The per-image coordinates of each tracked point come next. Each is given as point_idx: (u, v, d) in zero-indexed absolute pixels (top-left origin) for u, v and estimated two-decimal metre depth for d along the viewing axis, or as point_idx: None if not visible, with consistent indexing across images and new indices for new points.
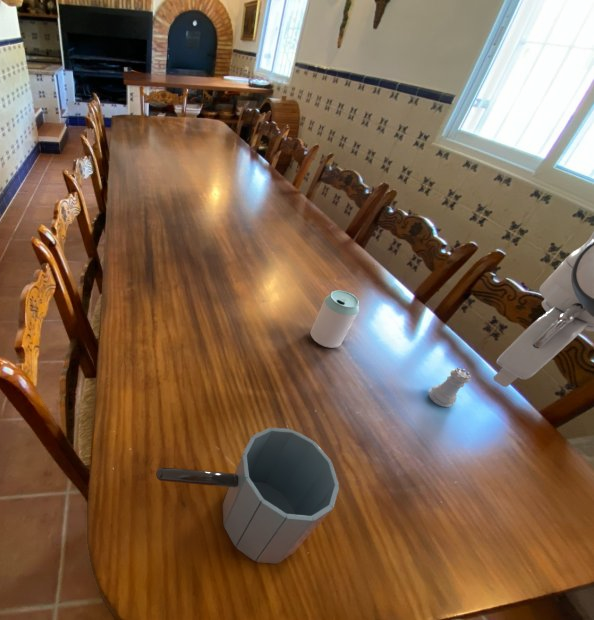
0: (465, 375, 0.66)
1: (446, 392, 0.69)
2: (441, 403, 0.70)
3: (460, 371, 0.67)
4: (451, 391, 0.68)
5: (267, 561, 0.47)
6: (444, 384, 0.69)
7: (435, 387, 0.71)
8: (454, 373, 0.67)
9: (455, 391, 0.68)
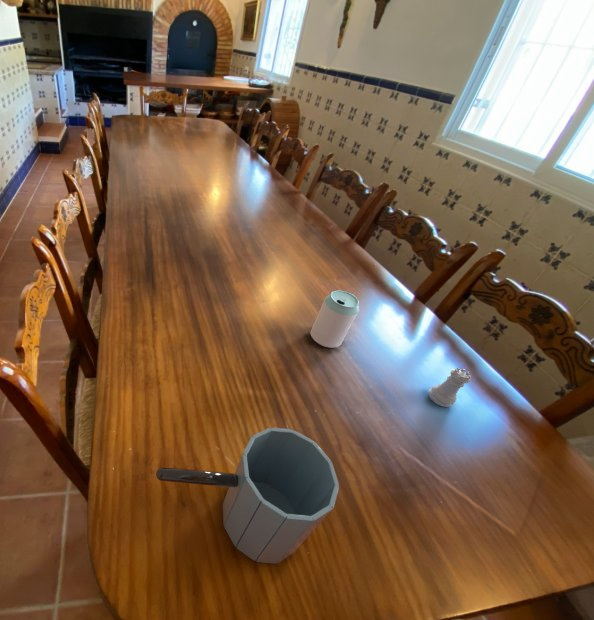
0: (465, 375, 0.66)
1: (446, 392, 0.69)
2: (441, 403, 0.70)
3: (460, 371, 0.67)
4: (451, 391, 0.68)
5: (267, 561, 0.47)
6: (444, 384, 0.69)
7: (435, 387, 0.71)
8: (454, 373, 0.67)
9: (455, 391, 0.68)
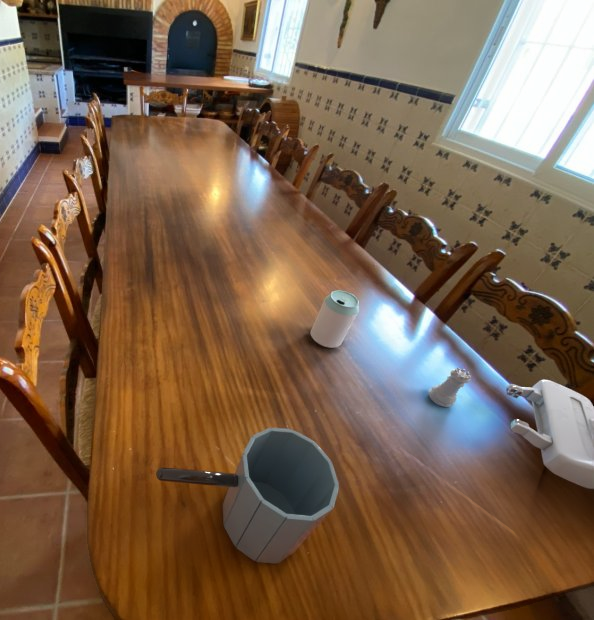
0: (465, 375, 0.66)
1: (446, 392, 0.69)
2: (441, 403, 0.70)
3: (460, 371, 0.67)
4: (451, 391, 0.68)
5: (267, 561, 0.47)
6: (444, 384, 0.69)
7: (435, 387, 0.71)
8: (454, 373, 0.67)
9: (455, 391, 0.68)
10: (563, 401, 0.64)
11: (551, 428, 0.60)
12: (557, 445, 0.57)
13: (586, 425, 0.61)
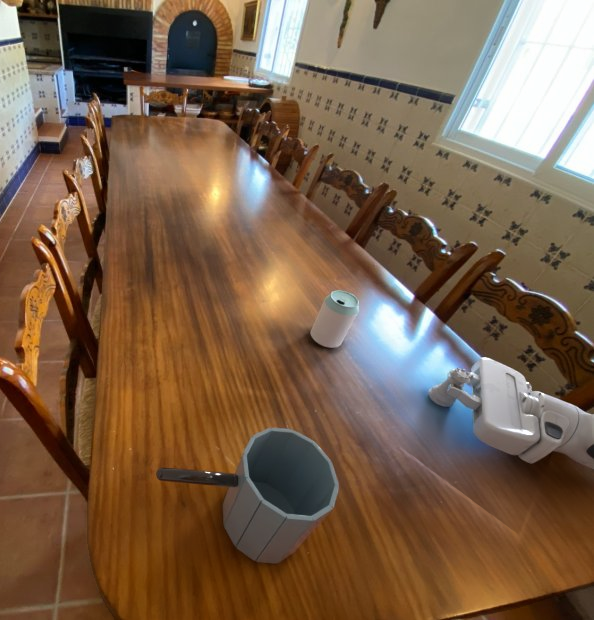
0: (465, 375, 0.66)
1: (446, 392, 0.69)
2: (441, 403, 0.70)
3: (460, 371, 0.67)
4: None
5: (267, 561, 0.47)
6: (444, 384, 0.69)
7: (435, 387, 0.71)
8: (454, 373, 0.67)
9: None
10: (497, 377, 0.68)
11: (482, 400, 0.64)
12: (485, 415, 0.61)
13: (516, 398, 0.64)
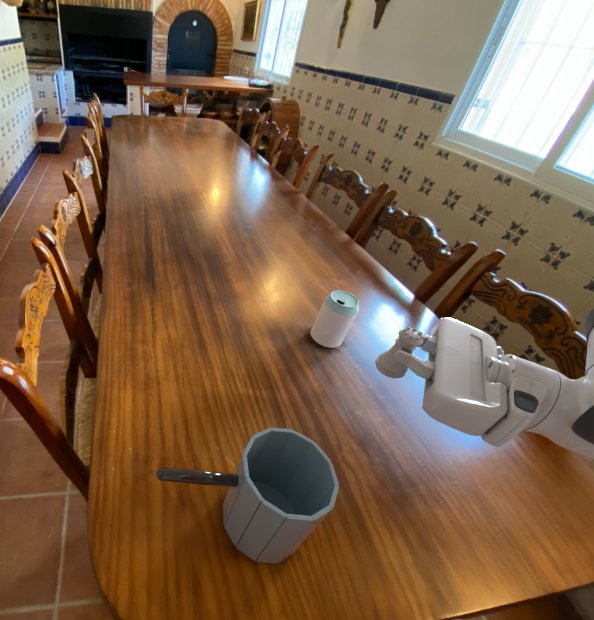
0: (416, 335, 0.51)
1: None
2: (389, 373, 0.55)
3: (410, 330, 0.52)
4: None
5: (267, 561, 0.47)
6: (392, 349, 0.54)
7: (383, 354, 0.56)
8: (402, 333, 0.52)
9: None
10: (459, 339, 0.53)
11: (436, 366, 0.49)
12: (437, 383, 0.46)
13: (481, 363, 0.50)
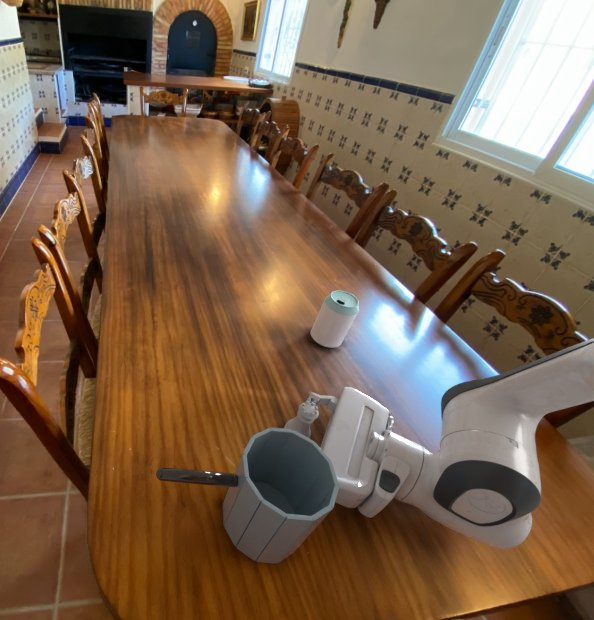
0: (312, 410, 0.58)
1: (297, 428, 0.60)
2: None
3: (308, 405, 0.59)
4: (300, 427, 0.60)
5: (267, 561, 0.47)
6: (295, 419, 0.61)
7: (290, 421, 0.63)
8: (301, 407, 0.58)
9: (305, 427, 0.60)
10: (353, 411, 0.59)
11: (325, 441, 0.55)
12: None
13: (366, 437, 0.56)
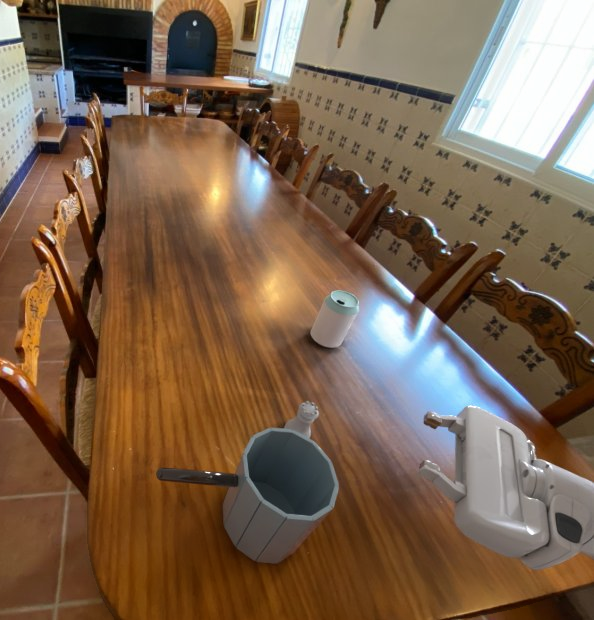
0: (312, 410, 0.58)
1: (297, 428, 0.60)
2: None
3: (308, 405, 0.59)
4: (300, 427, 0.60)
5: (267, 561, 0.47)
6: (295, 419, 0.61)
7: (290, 421, 0.63)
8: (301, 407, 0.58)
9: (305, 427, 0.60)
10: (489, 435, 0.50)
11: (467, 473, 0.46)
12: (470, 498, 0.43)
13: (514, 468, 0.47)
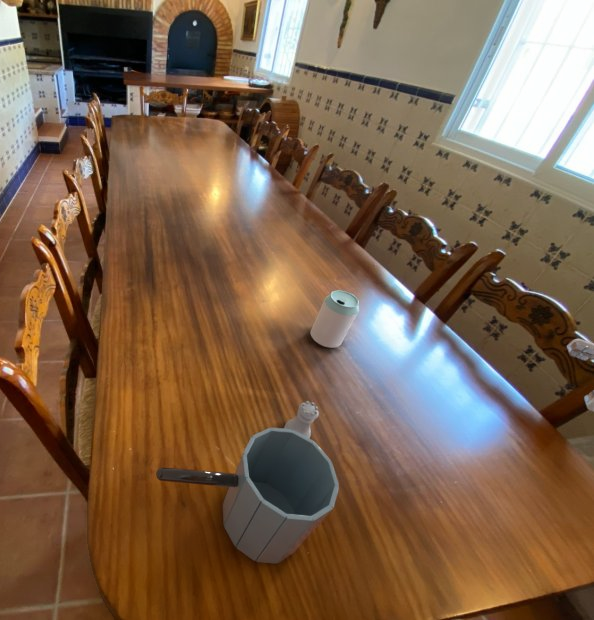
0: (312, 410, 0.58)
1: (297, 428, 0.60)
2: None
3: (308, 405, 0.59)
4: (300, 427, 0.60)
5: (267, 561, 0.47)
6: (295, 419, 0.61)
7: (290, 421, 0.63)
8: (301, 407, 0.58)
9: (305, 427, 0.60)
10: None
11: None
12: None
13: None
